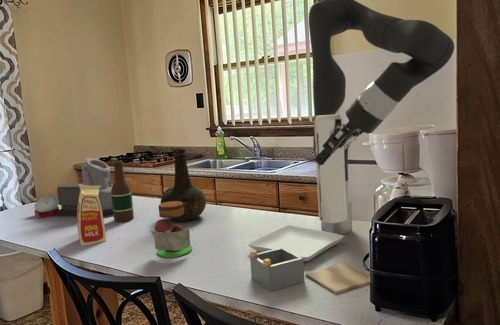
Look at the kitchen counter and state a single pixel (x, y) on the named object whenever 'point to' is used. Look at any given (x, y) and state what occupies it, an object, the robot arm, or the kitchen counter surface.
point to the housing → (276, 268)
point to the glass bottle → (184, 190)
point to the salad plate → (297, 241)
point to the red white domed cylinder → (46, 207)
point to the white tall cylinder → (330, 173)
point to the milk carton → (90, 216)
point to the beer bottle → (121, 195)
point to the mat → (339, 278)
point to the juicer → (92, 176)
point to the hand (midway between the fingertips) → (323, 160)
